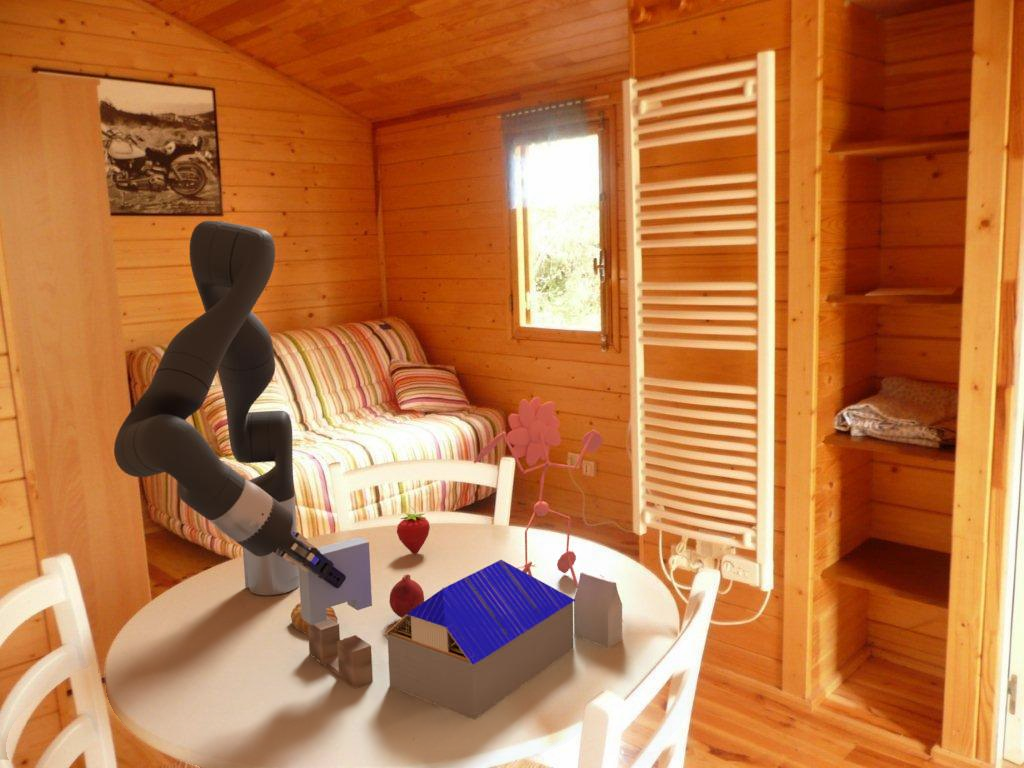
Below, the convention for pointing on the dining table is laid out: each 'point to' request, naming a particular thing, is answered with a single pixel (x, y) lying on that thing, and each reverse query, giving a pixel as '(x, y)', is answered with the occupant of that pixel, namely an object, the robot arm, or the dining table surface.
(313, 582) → the grey notched square slab
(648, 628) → the dining table surface
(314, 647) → the walnut blocks
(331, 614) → the pastry
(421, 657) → the house
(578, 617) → the grey house-shaped block
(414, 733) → the dining table surface
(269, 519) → the robot arm
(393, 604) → the onion
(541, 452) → the figurine
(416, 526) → the strawberry
